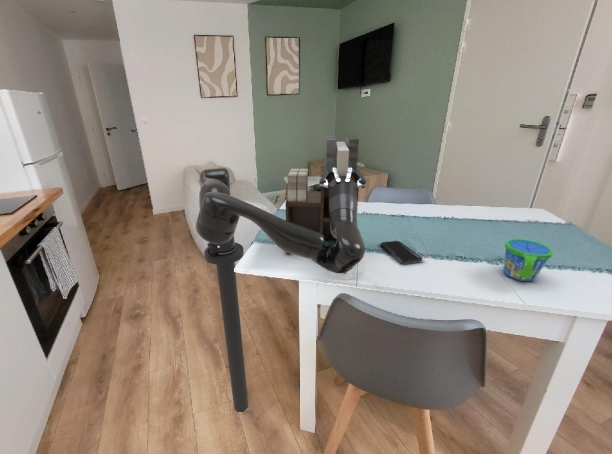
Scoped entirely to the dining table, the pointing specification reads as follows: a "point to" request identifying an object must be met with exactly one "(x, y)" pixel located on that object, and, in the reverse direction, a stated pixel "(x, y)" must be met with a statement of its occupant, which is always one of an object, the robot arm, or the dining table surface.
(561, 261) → the dining table surface
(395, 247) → the phone
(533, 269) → the snack cup
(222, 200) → the robot arm
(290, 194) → the bookcase
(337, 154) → the white book
